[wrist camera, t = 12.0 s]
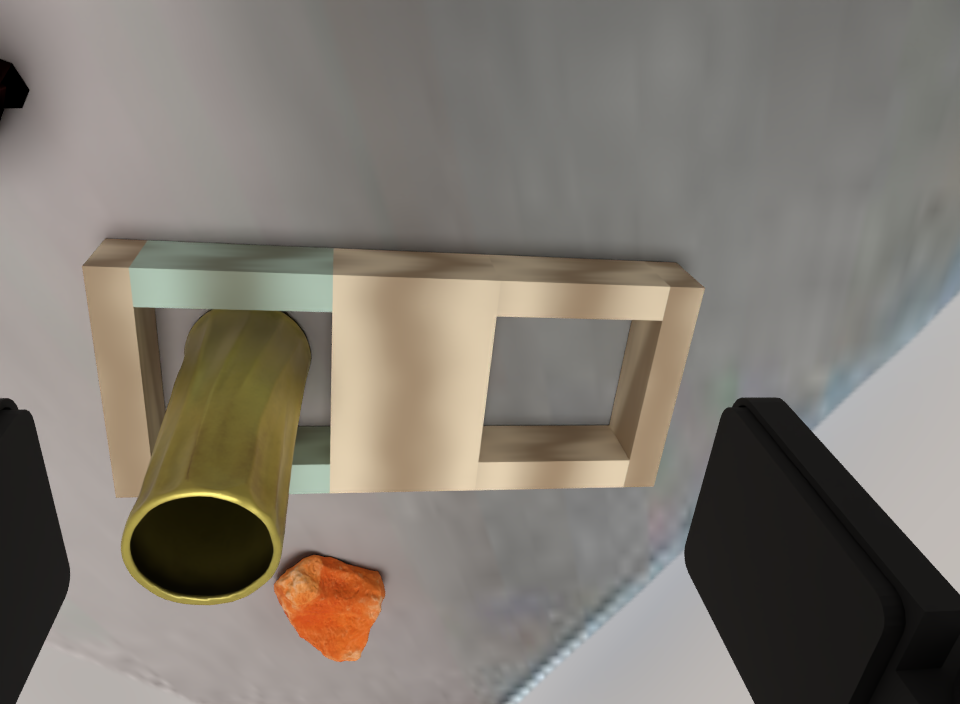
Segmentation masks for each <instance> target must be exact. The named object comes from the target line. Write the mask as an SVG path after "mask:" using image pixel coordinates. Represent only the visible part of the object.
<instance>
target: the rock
mask: <svg viewBox="0 0 960 704" xmlns="http://www.w3.org/2000/svg"><path fill="white" fill-rule="evenodd" d="M274 590H275V591H274V592H275V593H276V595H277V598H278V600H279V603H280V604H281V606H282V608H283V609H284V612H285V614H286V615H287V617H288V618H289V621H290V623H291V624H292V625H293V626H294V628H295V629H296V631H297V632H298V634H299V636H300V637H301V638H304V639H305V640H306V641H308V642H309V643H310V644H312V645H313V647H315V648H316V649H317V650H319V651H321V652H322V654H323V655H324V656H325V657H327V658H328V659H331V660H334V661H338V662H342V661H346V660H348V661H356V660H358V659H359V658H360V657H361V652H362V651H363V649H364V647H365V646H366V643H367V641H368V636H369V632H370V628H371V627H372V625H373V623H374V622H375V620H376V619H377V617H378V615H379V613H380V612H381V603H382V601H383V599H384V597H385V589H384V584H383V581H382V579H381V576H380V574H379V572H378V571H372V570H368V569H364V568H361V567H358V566H357V567H355V566H352V565H349V564H348V565H347V564H345V563H344V562H342V561H339V560H337V559H334V558H332V557H323V556H319V555H312V556H309V557H306V558H303V559H302V560H301V561H300V562H299V563H297V564H296V565H295V566H294V567H291V568H289V569H287V570H286V572H285V573H284V574H283V575H282V576H280V577H279V579H278V580H277V581H276V582H275V584H274Z"/></svg>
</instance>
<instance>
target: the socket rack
mask: <svg viewBox="0 0 960 704" xmlns="http://www.w3.org/2000/svg"><path fill="white" fill-rule="evenodd" d="M82 269H83V276H84V282H85V289H86V296H87V303H88V310H89V316H90V323H91V330H92V337H93V344H94V351H95V357H96V364H97V371H98V378H99V385H100V391H101V398H102V405H103V412H104V419H105V426H106V432H107V439H108V446H109V453H110V460H111V467H112V473H113V480H114V487H115V494H116V498H123V497H138V496H139V493H140V490H141V486H142V483H143V480H144V477H145V474H146V471H147V468H148V465H149V462H150V459H151V456H152V453H153V450H154V447H155V444H156V440H157V437H158V434H159V431H160V428H161V425H162V422H163V419H164V416H165V405H164V395H163V386H162V376H161V366H160V356H159V347H158V337H157V327H156V317H155V308H188V309H227V310H266V311H305V312H332V371H331V426H300V427H298V428H297V434H296V440H295V447H294V454H293V461H292V469H291V479H290V487H289V494H315V493H363V492H411V491H459V490H507V489H555V488H603V487H651V486H654V483H655V479H656V475H657V472H658V468H659V464H660V460H661V456H662V452H663V448H664V444H665V441H666V437H667V433H668V429H669V425H670V421H671V417H672V413H673V410H674V406H675V402H676V398H677V394H678V390H679V386H680V382H681V379H682V375H683V371H684V367H685V363H686V359H687V355H688V351H689V348H690V344H691V340H692V336H693V332H694V328H695V324H696V320H697V317H698V313H699V309H700V305H701V301H702V297H703V293H704V289H705V288H704V287H703V286H702V285H701V284H700V283H699V282H697V281H696V280H695V279H694V278H693V277H692V276H691V275H690V274H689V273H687V272H686V271H685V270H684V269H683V268H682V267H681V266H680V265H678V264H677V263H673V262H649V261H625V260H602V259H578V258H554V257H530V256H507V255H483V254H459V253H435V252H412V251H388V250H364V249H340V248H317V247H293V246H269V245H245V244H222V243H198V242H174V241H150V240H127V239H105V240H104V241H103V242H102V243H101V244H100V246H99V247H98V248H97V249H96V250H95V252H94V253H93V254H92V255H91V256H90V257H89V259H88V260H87V261H86V262H85V263H84V265H83V266H82ZM497 316H500V317H539V318H578V319H617V320H632V322H631V326H630V331H629V336H628V340H627V345H626V350H625V354H624V359H623V364H622V368H621V373H620V378H619V382H618V387H617V392H616V396H615V401H614V406H613V410H612V415H611V419H610V424H609V425H570V426H483V421H484V413H485V405H486V397H487V389H488V381H489V373H490V365H491V357H492V349H493V341H494V333H495V325H496V317H497Z"/></svg>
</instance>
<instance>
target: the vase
mask: <svg viewBox="0 0 960 704" xmlns="http://www.w3.org/2000/svg"><path fill="white" fill-rule="evenodd" d="M184 355H185V357H184V360H183V363H182V366H181V368H180V371H179V373H178V375H177V378H176V381H175V384H174V387H173V391H172V394H171V397H170V401H169V404H168V407H167V410H166V413H165V416H164V419H163V422H162V425H161V428H160V431H159V434H158V437H157V440H156V444H155V447H154V450H153V453H152V456H151V459H150V462H149V465H148V468H147V471H146V474H145V477H144V480H143V483H142V486H141V490H140V493H139V496H138V499H137V501H136V503H135V505H134V507H133V509H132V511H131V512H130V515H129V517H128V519H127V522H126V525H125V529H124V532H123V536H122V541H121V553H122V558H123V561H124V564H125V566H126V568H127V569H128V571H129V573H130V574H131V576H132V577H133V578H134V579H135V580H136V581H137V582H138V583H139V584H141V585H142V586H143V587H145V588H146V589H148V590H149V591H150V592H152V593H153V594H155V595H157V596H159V597H161V598H164V599H166V600H170V601H173V602H177V603H182V604H192V605H215V604H222V603H228V602H233V601H236V600H238V599H241V598H244V597H246V596H248V595H250V594H251V593H253V592H254V591H256V590H257V589H258V588H260V587H261V586H262V585H264V584H265V583H266V582H267V581H268V580H269V579H270V578H271V577H272V576H273V574H274V573H275V571H276V569H277V567H278V565H279V562H280V559H281V554H282V548H283V540H284V534H285V523H286V514H287V506H288V497H289V487H290V479H291V469H292V461H293V454H294V447H295V440H296V434H297V428H298V422H299V416H300V410H301V404H302V399H303V393H304V388H305V383H306V378H307V375H308V371H309V367H310V362H311V352H310V348H309V344H308V341H307V339H306V336H305V335H304V333H303V331H302V330H301V328H300V327H299V326H298V325H297V324H296V323H295V322H294V321H293V320H292V319H291V318H290V317H289V316H287V315H286V314H284V313H283V312H281V311H266V310H227V309H212V310H211V311H209V312H207V313H206V314H205V315H203V316H202V317H201V318H200V319H199V320H198V321H197V322H196V323H195V324H194V326H193V327H192V329H191V330H190V332H189V334H188V337H187V340H186V344H185V349H184Z"/></svg>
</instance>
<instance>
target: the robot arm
mask: <svg viewBox="0 0 960 704" xmlns="http://www.w3.org/2000/svg"><path fill="white" fill-rule="evenodd" d="M684 556H685V564H686V567H687V570H688V573H689V575H690V577H691V579H692V581H693V583H694V585H695V586H696V589H697V590H698V593H699V594H700V597H701V598H702V600H703V602H704V604H705V606H706V608H707V610H708V612H709V614H710V616H711V618H712V620H713V622H714V624H715V626H716V628H717V630H718V632H719V634H720V636H721V638H722V640H723V642H724V644H725V646H726V648H727V650H728V652H729V654H730V656H731V658H732V660H733V661H734V664H735V666H736V668H737V670H738V672H739V674H740V676H741V677H742V680H743V681H744V683H745V685H746V687H747V689H748V691H749V693H750V695H751V697H752V699H753V701H754V703H755V704H960V594H959V593H958V592H957V591H956V590H955V589H954V588H953V587H952V586H951V585H950V583H949V582H948V581H947V580H946V579H945V578H944V577H943V576H942V575H941V573H940V572H939V571H938V570H937V569H936V568H935V567H934V566H933V565H932V564H931V563H930V561H929V560H928V559H927V558H926V557H925V556H924V555H923V554H922V553H921V551H920V550H919V549H918V548H917V547H916V546H915V545H914V544H913V543H912V541H911V540H910V539H909V538H908V537H907V536H906V535H905V534H904V533H903V532H902V530H901V529H900V528H899V527H898V526H897V525H896V524H895V523H894V522H893V521H892V519H891V518H890V517H889V516H888V515H887V514H886V513H885V512H884V511H883V510H882V509H881V507H880V506H879V505H878V504H877V503H876V502H875V501H874V500H873V498H872V497H871V496H870V495H869V494H868V493H867V492H866V491H865V490H864V489H863V487H861V485H860V484H859V483H858V482H857V481H856V480H855V479H854V478H853V476H852V475H851V474H850V473H849V472H848V471H847V470H846V469H845V468H844V466H843V465H842V464H841V463H840V462H839V461H838V460H837V459H836V458H835V457H834V456H833V455H832V453H831V452H830V451H829V450H828V449H827V448H826V447H825V446H824V444H823V443H822V442H821V441H820V440H819V439H818V438H817V437H816V436H815V435H814V433H813V432H812V431H811V430H810V429H809V428H808V427H807V426H806V425H805V423H804V422H803V421H802V420H801V419H800V418H799V417H798V416H797V415H796V414H795V412H794V411H793V410H792V409H791V408H790V407H789V406H788V405H787V404H786V403H785V402H784V401H783V400H782V399H780V398H740V399H737V400H736V402H735V403H734V404H733V407H729V408H726V409H725V410H724V411H723V413H722V415H721V418H720V422H719V425H718V429H717V433H716V436H715V440H714V443H713V447H712V451H711V454H710V458H709V461H708V465H707V469H706V472H705V476H704V479H703V483H702V487H701V490H700V494H699V497H698V501H697V505H696V508H695V512H694V515H693V519H692V523H691V526H690V530H689V533H688V537H687V541H686V544H685V552H684ZM69 581H70V567H69V562H68V558H67V554H66V550H65V546H64V542H63V538H62V533H61V529H60V525H59V521H58V517H57V513H56V509H55V505H54V501H53V497H52V493H51V489H50V484H49V480H48V476H47V472H46V468H45V464H44V460H43V456H42V452H41V448H40V444H39V440H38V435H37V431H36V427H35V423H34V420H33V417H32V415H31V413H30V412H29V411H27V410H18V407H17V405H16V404H15V403H14V401H13V400H11V399H9V398H0V704H16V702H17V700H18V697H19V695H20V693H21V691H22V689H23V687H24V684H25V682H26V680H27V678H28V676H29V674H30V672H31V669H32V667H33V665H34V663H35V661H36V659H37V657H38V655H39V652H40V650H41V648H42V646H43V644H44V642H45V640H46V637H47V635H48V633H49V631H50V629H51V627H52V625H53V623H54V620H55V618H56V616H57V614H58V612H59V610H60V608H61V605H62V603H63V601H64V599H65V597H66V594H67V591H68V587H69Z"/></svg>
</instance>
